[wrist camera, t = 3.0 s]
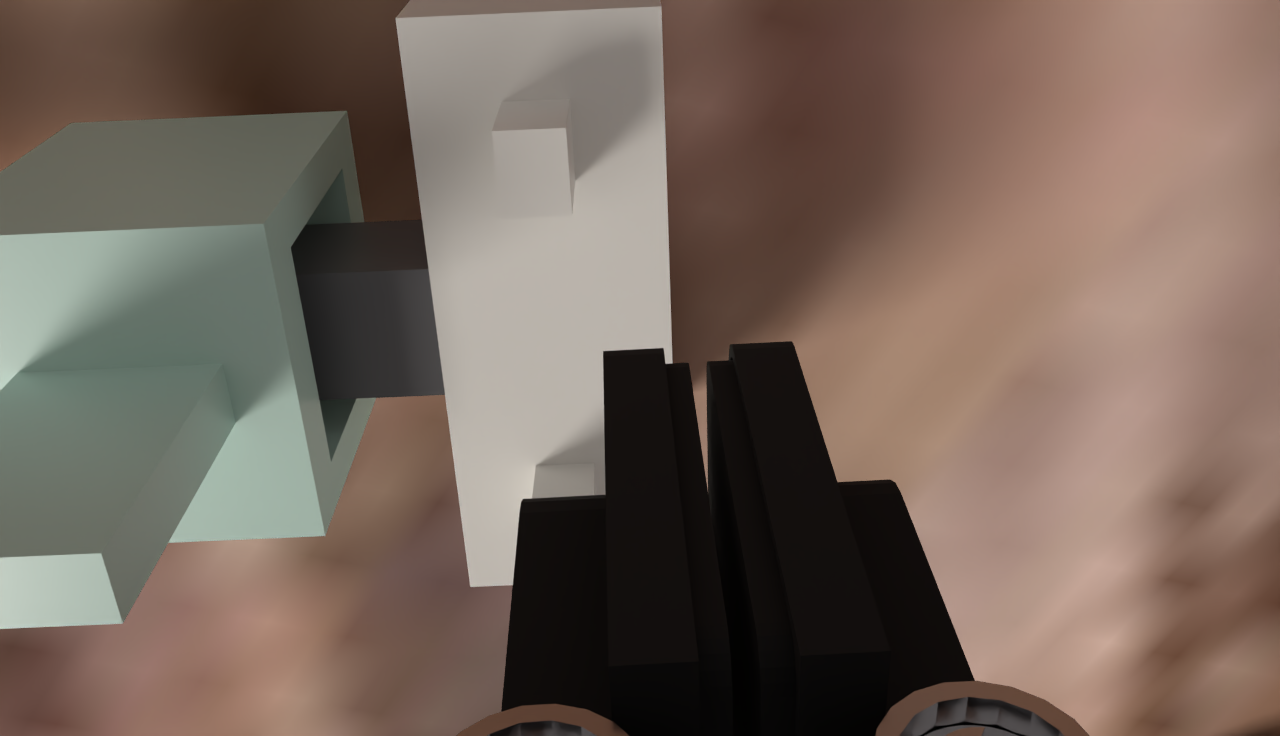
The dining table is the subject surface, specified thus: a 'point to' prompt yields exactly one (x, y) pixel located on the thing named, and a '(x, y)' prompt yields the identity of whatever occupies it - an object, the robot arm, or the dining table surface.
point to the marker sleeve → (161, 352)
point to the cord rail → (508, 248)
